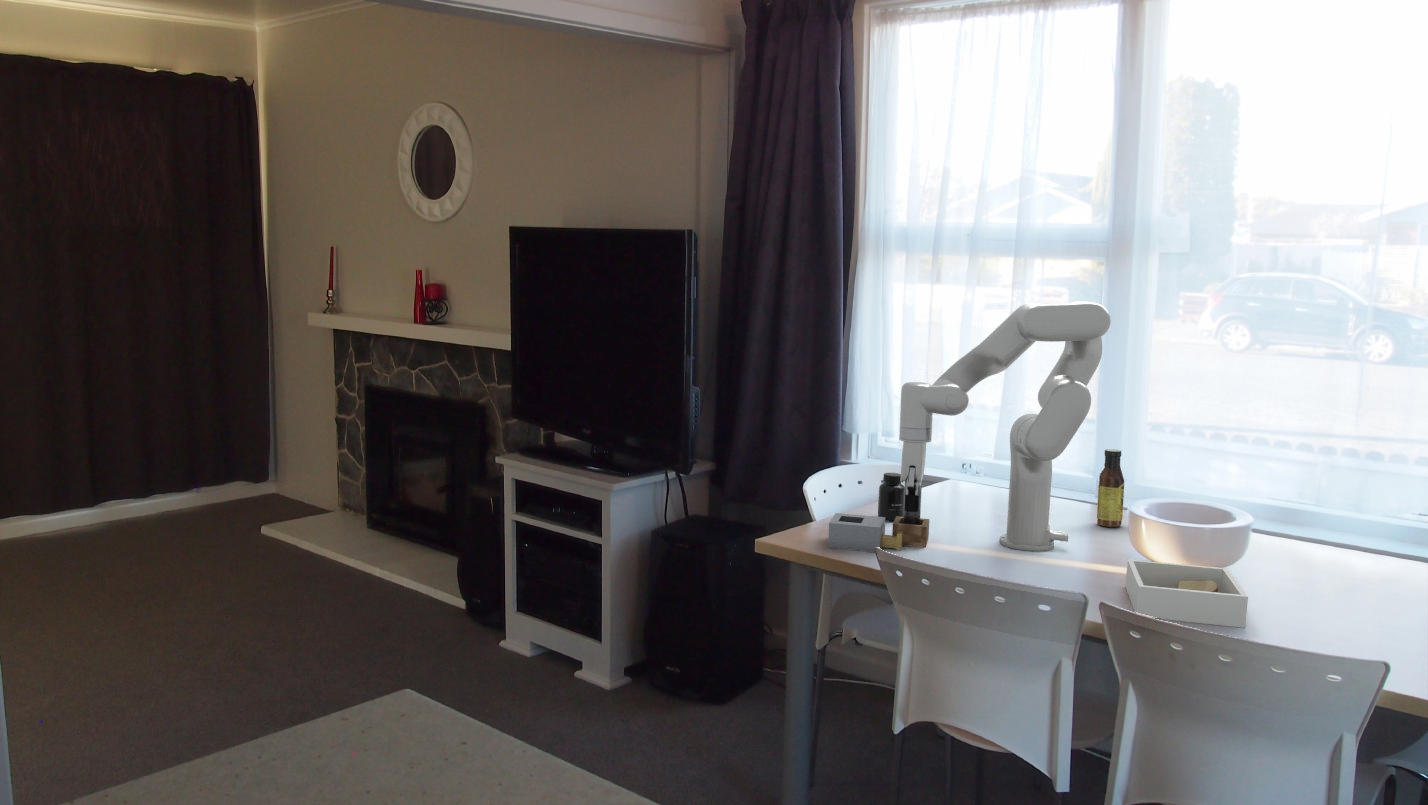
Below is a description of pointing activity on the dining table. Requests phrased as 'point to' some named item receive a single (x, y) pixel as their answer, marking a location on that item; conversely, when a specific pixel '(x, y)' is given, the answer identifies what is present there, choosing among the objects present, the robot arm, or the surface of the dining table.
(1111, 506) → the sauce bottle
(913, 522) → the grey rounded bar
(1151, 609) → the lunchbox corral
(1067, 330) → the robot arm
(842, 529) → the socket block
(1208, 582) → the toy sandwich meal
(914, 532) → the wooden open box
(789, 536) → the dining table surface
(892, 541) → the tan blocky piece
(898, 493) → the supplement bottle
